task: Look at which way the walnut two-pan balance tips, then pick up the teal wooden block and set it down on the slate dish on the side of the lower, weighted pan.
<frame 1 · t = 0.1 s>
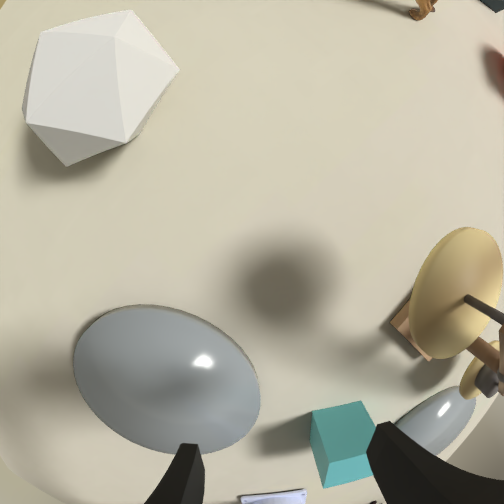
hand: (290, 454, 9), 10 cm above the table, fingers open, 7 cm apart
die: (119, 103, 15), on the table
balance: (430, 312, 19), on the table
grey round disc: (163, 390, 19), on the table
block: (334, 422, 21), on the table
dish low side: (425, 433, 23), on the table
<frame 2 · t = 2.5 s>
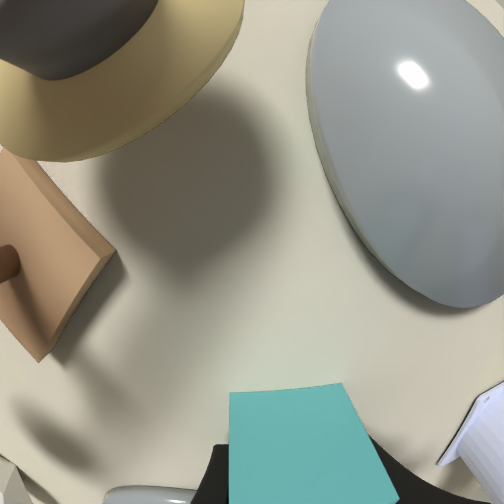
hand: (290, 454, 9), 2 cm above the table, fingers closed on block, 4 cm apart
die: (8, 463, 12), on the table
balance: (29, 253, 8), on the table
block: (284, 425, 10), on the table, touching gripper
dish low side: (469, 125, 8), on the table
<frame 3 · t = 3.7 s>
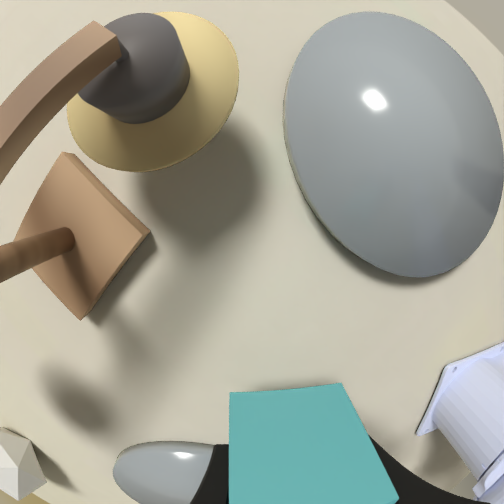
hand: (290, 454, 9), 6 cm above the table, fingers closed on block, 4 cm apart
die: (22, 441, 16), on the table
balance: (77, 235, 12), on the table
grey round disc: (199, 487, 17), on the table
block: (284, 425, 10), point 4 cm above the table, touching gripper
dish low side: (416, 136, 12), on the table
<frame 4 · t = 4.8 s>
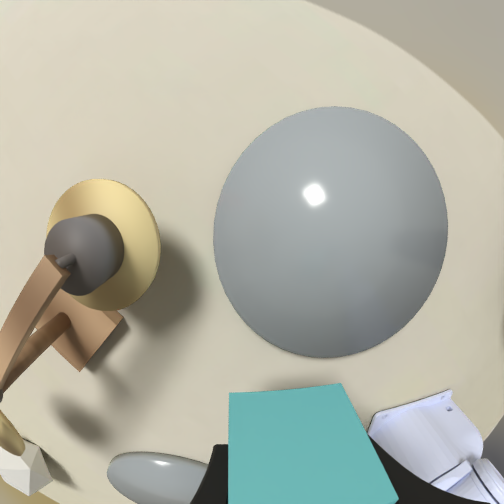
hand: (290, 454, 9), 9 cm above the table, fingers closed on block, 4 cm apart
die: (31, 446, 20), on the table
balance: (72, 313, 16), on the table
grey round disc: (174, 487, 21), on the table
block: (284, 425, 10), point 7 cm above the table, touching gripper
dish low side: (343, 236, 16), on the table
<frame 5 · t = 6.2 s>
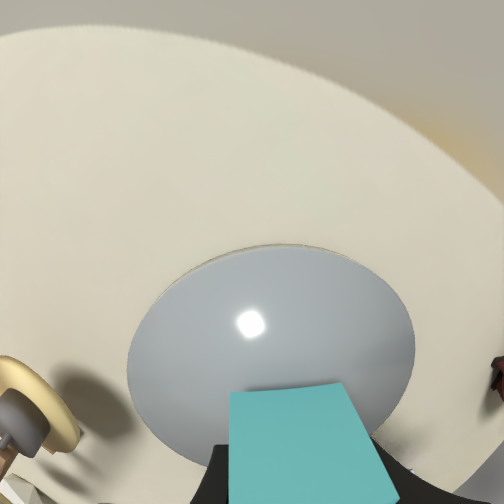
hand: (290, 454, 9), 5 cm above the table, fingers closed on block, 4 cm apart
die: (27, 483, 18), on the table
balance: (36, 412, 14), on the table
block: (284, 425, 10), point 3 cm above the table, touching gripper
dish low side: (276, 386, 13), on the table
when the fingers open (4 cm above the table, at t = 7.1 s): block drops 1 cm, resting on dish low side.
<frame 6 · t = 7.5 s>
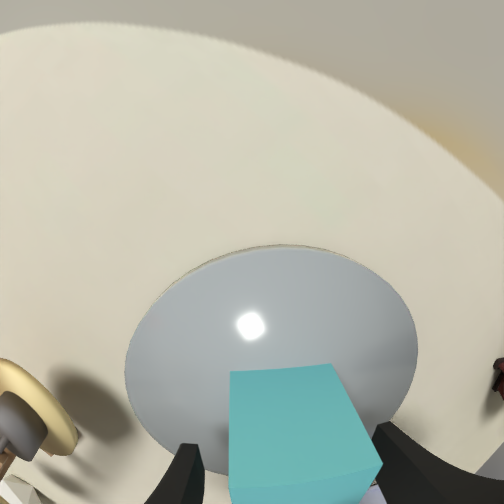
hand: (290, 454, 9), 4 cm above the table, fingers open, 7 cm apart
die: (27, 484, 17), on the table
balance: (35, 414, 13), on the table
block: (280, 404, 12), point 1 cm above the table, touching dish low side
dish low side: (277, 389, 13), on the table
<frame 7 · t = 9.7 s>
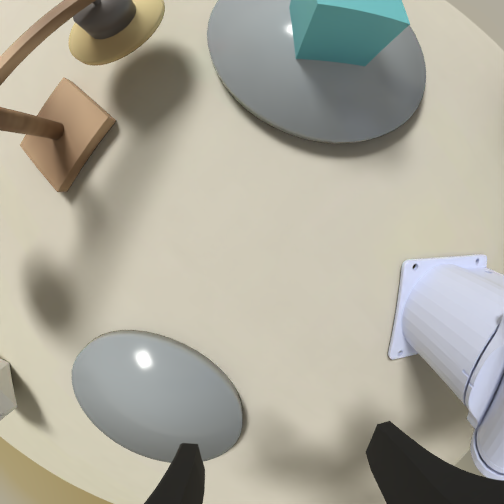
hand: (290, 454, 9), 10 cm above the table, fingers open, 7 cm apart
die: (3, 368, 20), on the table
balance: (67, 133, 15), on the table
grey round disc: (153, 405, 20), on the table
block: (327, 34, 13), point 1 cm above the table, touching dish low side
dish low side: (322, 42, 14), on the table
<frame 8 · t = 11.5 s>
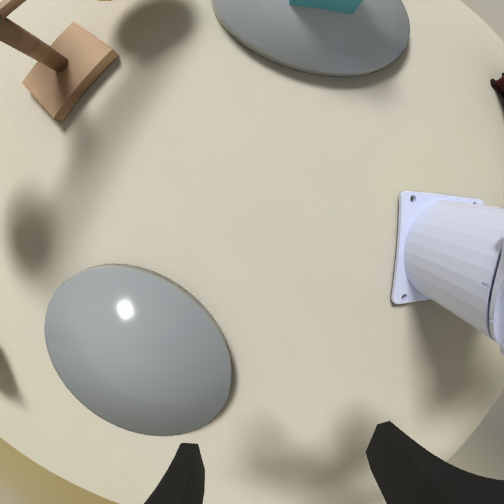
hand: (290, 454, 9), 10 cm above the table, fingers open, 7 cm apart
balance: (69, 70, 13), on the table
grey round disc: (132, 360, 18), on the table
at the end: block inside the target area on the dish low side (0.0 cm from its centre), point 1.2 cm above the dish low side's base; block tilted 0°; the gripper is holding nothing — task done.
